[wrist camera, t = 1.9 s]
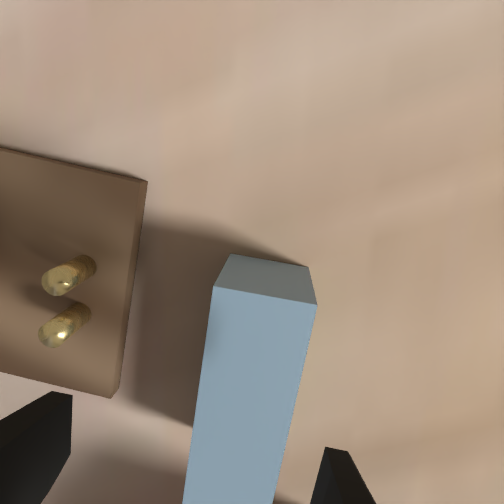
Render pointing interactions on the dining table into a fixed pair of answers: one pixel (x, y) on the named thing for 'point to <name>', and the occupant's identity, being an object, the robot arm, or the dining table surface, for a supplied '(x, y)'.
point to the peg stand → (66, 270)
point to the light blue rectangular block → (249, 380)
